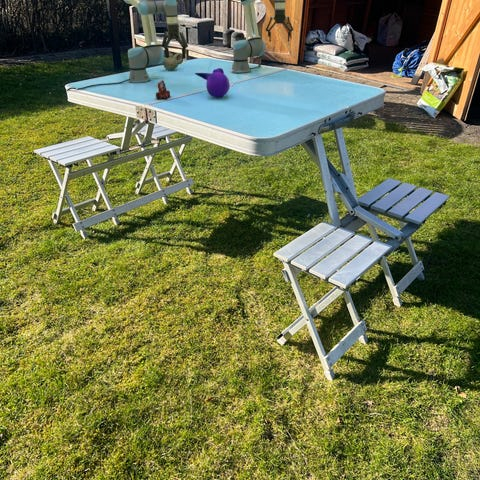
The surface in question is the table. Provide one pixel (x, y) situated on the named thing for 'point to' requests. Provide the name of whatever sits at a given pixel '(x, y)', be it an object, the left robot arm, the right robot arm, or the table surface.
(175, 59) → the teapot
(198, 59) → the table surface
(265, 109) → the table surface
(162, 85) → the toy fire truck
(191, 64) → the table surface
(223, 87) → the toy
